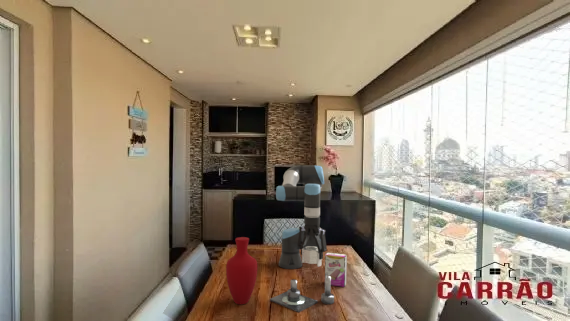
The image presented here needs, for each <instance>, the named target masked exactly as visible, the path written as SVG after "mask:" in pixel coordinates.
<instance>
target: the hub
mask: <svg viewBox="0 0 570 321" xmlns="http://www.w3.org/2000/svg"><path fill="white" fill-rule="evenodd" d="M269 301H270V302H272V303H275V304H276V305H280V306H283V307H284V308H287V309H289V310H293V311H294V312H296V313H301V312H303V311H304V310H307V309H308V308H310V307H312V306H315V304H318V300H317V299H314V298H312V297H309V296H306V295H303V294H301V290H300V289H298V279H296V278H295V279H294V278H293V279H290V288H289V289H287V291H285V292H282V293H280V294H278V295H276V296H273V297H271V298H269Z"/></svg>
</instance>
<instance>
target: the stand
mask: <svg viewBox="0 0 570 321" xmlns="http://www.w3.org/2000/svg"><path fill="white" fill-rule="evenodd" d="M331 287H332V285H331V276H329V275H326V276H325V275H324V292H323V293H321V294H320V295H321V300H320V301H321V303H322V304H324V305H333V304H334V303H335V295H334V294H333V293H332V292H331V290H332V288H331Z"/></svg>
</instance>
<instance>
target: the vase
mask: <svg viewBox="0 0 570 321" xmlns="http://www.w3.org/2000/svg"><path fill="white" fill-rule="evenodd" d="M234 241H235V244H236V245H235V246H236V252H235V254H234V255H233V256H232V257H230V258H229V259H228V260H227V261H226V266H225V272H226V273H225V274H226V281H227V285H228V289H229V292H230V295H231V298H232V300H233V302H234V303H235V304H237V305H246V304H248V303H249V302H250V300H251V296H252V295H253V291H254V289H255V286H256V282H257V277H258V261H257V260H256V258H255V257H253V256H251V255H250V253H248V246H249V242H250V238H249V237H245V236H241V237H240V236H239V237H236V238H235V240H234Z"/></svg>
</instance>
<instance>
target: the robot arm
mask: <svg viewBox="0 0 570 321" xmlns="http://www.w3.org/2000/svg"><path fill="white" fill-rule="evenodd" d="M282 178H283V182H282V184H281V185H278V186H276V188H275V189H276V190H275V198H276V200H277V201H281V202H304V209H303V210H304V214H303V215H304V218H303V223H304V226H303V225H301V226H299V227H298V228H297V227H291V228H286V229H284V230H282V232H281V253H280V256H279V260H278V266H279V267H280V268H282V269H286V270H294V269H295V270H297V269H300V268H302V267H303V263H304V261H303V248H304V247H307V246H315V247H317V248H318V251H319V252H317V264H316V267H318V268H319V267H321V266H322V264H323V263H322V261H323V259H324V252H326V251H328V247H327V240H326V229H323V228H321V227H320V225H321V217H320V216H321V189H322V188H323V185H325V177H324V170H323V167H322V166H321V165H299V164H298V165H294V166H291V167H290V168H288V169H287V170H285V172H284V174H283V177H282ZM301 185H302V186H301Z"/></svg>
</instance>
